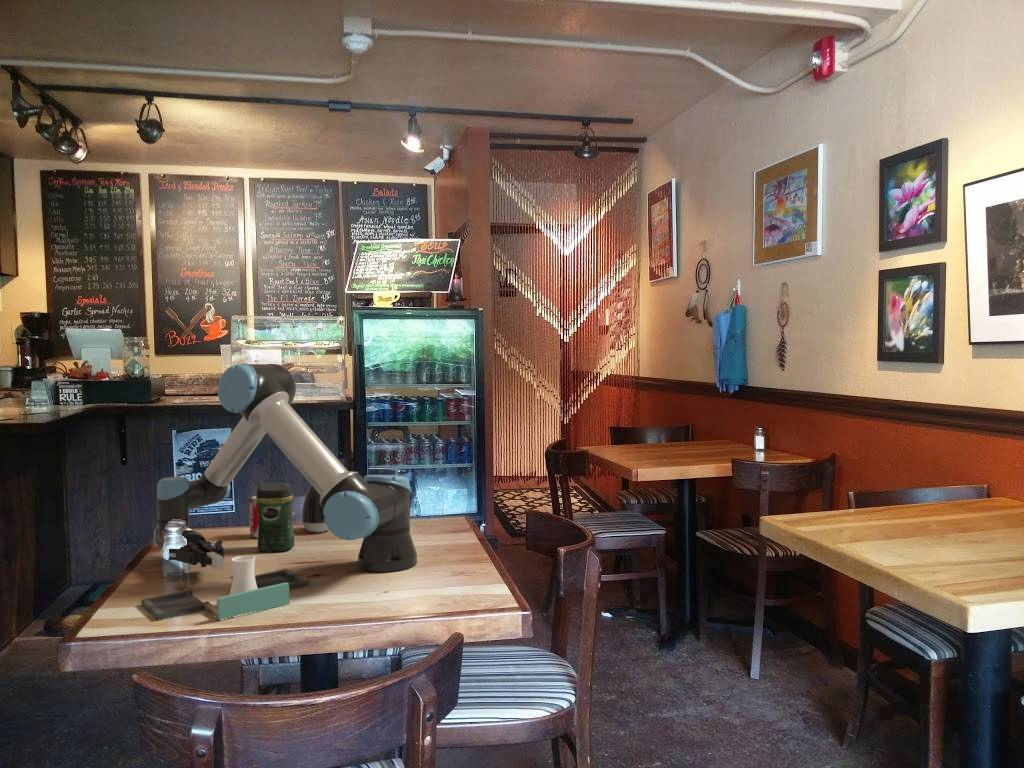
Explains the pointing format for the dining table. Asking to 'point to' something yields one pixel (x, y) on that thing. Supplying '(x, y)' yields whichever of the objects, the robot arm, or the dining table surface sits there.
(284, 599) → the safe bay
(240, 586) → the vase
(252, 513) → the soda can
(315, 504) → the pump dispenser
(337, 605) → the dining table surface
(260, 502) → the coffee jar
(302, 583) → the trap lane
